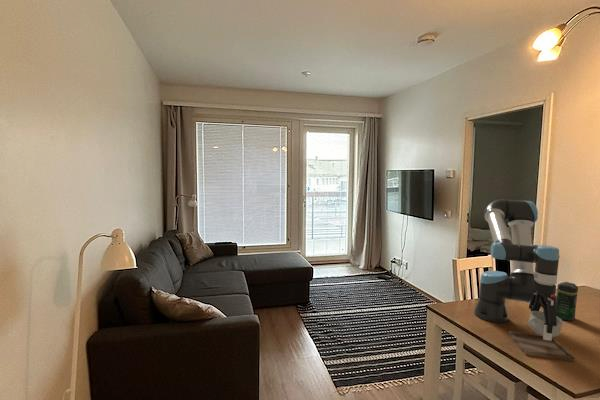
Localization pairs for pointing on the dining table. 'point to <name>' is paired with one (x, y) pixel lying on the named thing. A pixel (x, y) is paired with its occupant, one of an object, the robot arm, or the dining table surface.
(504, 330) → the dining table surface
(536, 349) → the shallow tray
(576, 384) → the dining table surface
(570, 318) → the coffee jar
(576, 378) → the dining table surface
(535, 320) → the teacup
